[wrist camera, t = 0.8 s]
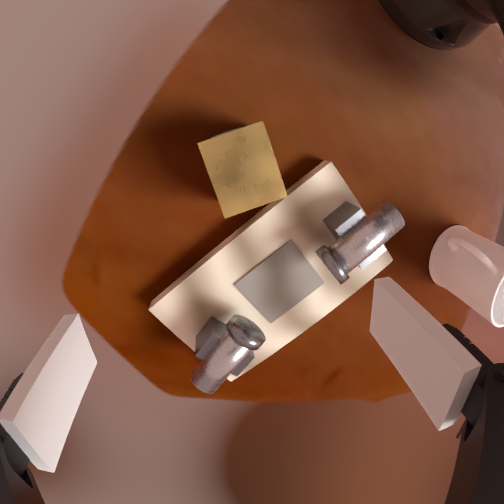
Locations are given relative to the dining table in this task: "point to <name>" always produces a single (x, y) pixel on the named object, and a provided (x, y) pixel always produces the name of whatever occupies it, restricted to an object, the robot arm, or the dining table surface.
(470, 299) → the mug
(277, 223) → the bench
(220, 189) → the wooden block with hole
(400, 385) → the dining table surface
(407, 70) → the dining table surface
